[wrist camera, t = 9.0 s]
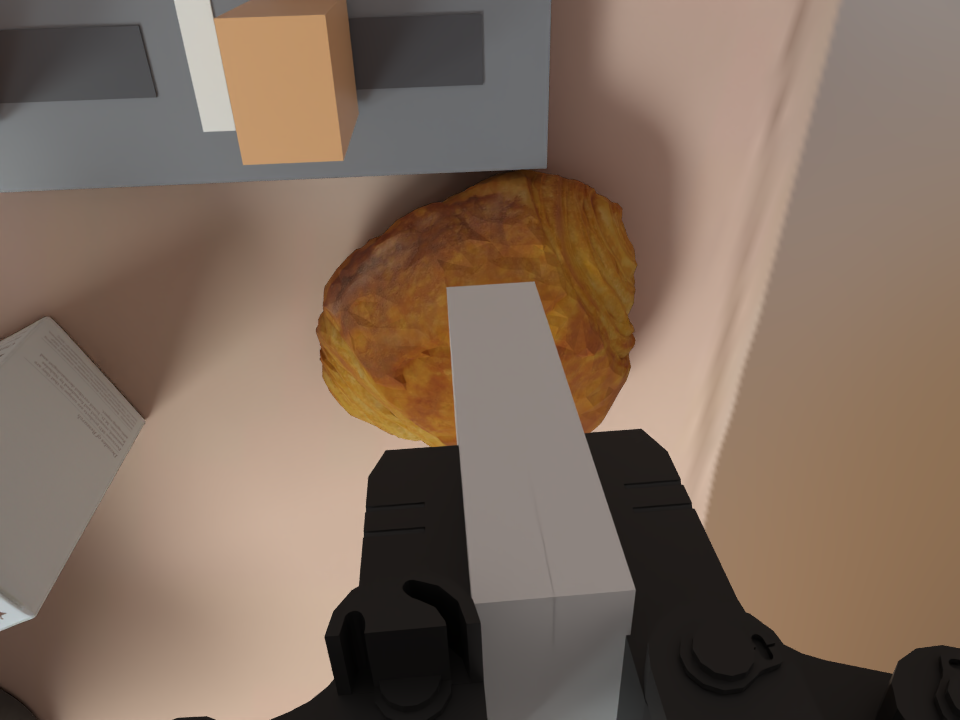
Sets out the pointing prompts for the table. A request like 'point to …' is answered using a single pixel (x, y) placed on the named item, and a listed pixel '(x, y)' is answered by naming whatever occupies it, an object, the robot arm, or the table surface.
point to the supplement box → (52, 458)
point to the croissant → (479, 261)
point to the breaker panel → (206, 104)
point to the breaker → (289, 79)
